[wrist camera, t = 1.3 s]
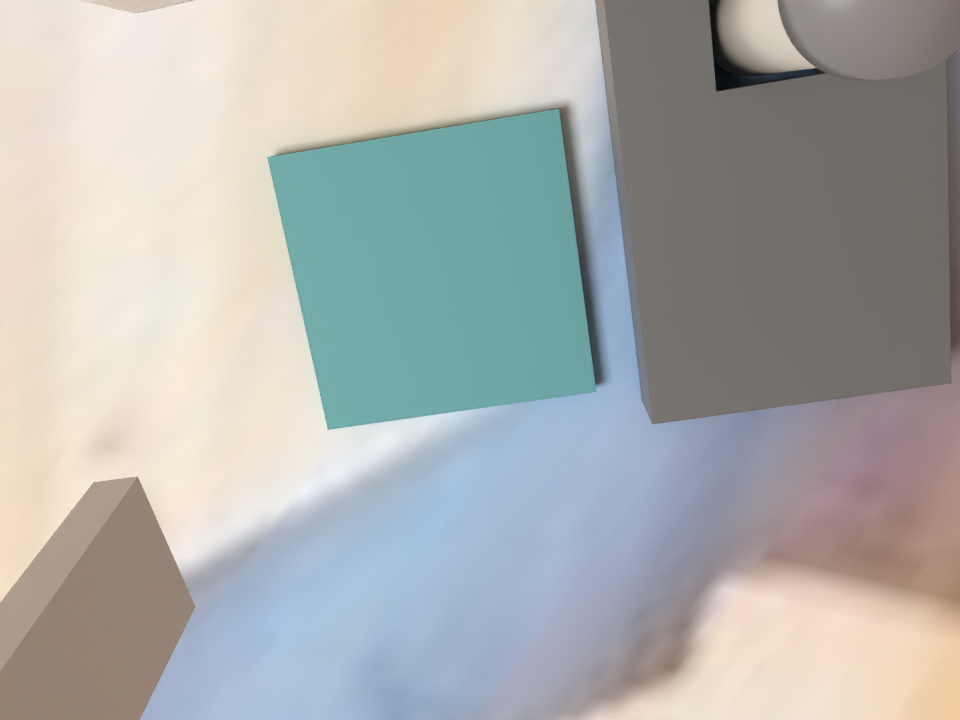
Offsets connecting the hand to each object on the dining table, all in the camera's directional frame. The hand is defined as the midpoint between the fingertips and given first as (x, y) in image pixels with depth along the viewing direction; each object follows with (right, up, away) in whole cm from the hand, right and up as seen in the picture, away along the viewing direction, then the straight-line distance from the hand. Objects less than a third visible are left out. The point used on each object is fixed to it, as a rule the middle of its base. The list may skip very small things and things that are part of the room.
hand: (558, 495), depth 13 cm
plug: (+9, +15, +21) cm, 28 cm away
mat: (-3, +6, +24) cm, 25 cm away
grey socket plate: (+10, +11, +22) cm, 27 cm away
